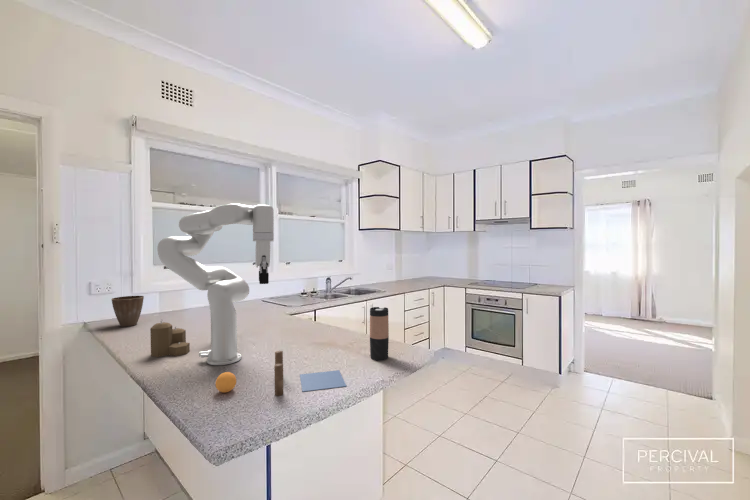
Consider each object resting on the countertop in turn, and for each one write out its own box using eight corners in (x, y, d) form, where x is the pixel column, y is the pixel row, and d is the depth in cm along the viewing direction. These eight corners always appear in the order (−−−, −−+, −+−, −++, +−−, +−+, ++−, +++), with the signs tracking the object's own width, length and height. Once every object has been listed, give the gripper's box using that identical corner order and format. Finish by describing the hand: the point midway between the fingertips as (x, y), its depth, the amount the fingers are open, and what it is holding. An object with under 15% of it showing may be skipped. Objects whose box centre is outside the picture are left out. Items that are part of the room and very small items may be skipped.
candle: (153, 360, 134) (153, 323, 133) (148, 352, 144) (147, 317, 143) (191, 353, 143) (191, 318, 142) (184, 345, 153) (183, 313, 152)
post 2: (274, 396, 101) (274, 367, 101) (274, 392, 104) (274, 364, 104) (283, 395, 102) (283, 366, 102) (283, 391, 105) (283, 363, 104)
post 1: (275, 379, 114) (274, 353, 114) (275, 376, 117) (275, 351, 116) (283, 378, 115) (282, 352, 115) (283, 375, 117) (282, 350, 117)
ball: (213, 397, 101) (213, 377, 101) (217, 388, 107) (217, 370, 107) (235, 394, 103) (234, 375, 103) (237, 386, 109) (237, 368, 109)
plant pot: (104, 328, 185) (104, 299, 185) (128, 321, 200) (128, 295, 200) (128, 329, 183) (127, 300, 182) (150, 322, 197) (150, 295, 197)
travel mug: (375, 362, 130) (375, 311, 130) (366, 356, 137) (366, 307, 137) (392, 359, 134) (392, 309, 133) (383, 353, 141) (382, 306, 140)
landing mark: (302, 391, 105) (302, 391, 105) (299, 375, 118) (299, 374, 118) (346, 386, 108) (346, 385, 108) (339, 370, 122) (339, 370, 122)
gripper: (252, 237, 134) (253, 280, 135) (253, 237, 118) (253, 285, 119) (272, 238, 137) (272, 279, 137) (275, 237, 121) (275, 284, 121)
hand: (263, 282), depth 128 cm, fingers open, 9 cm apart
